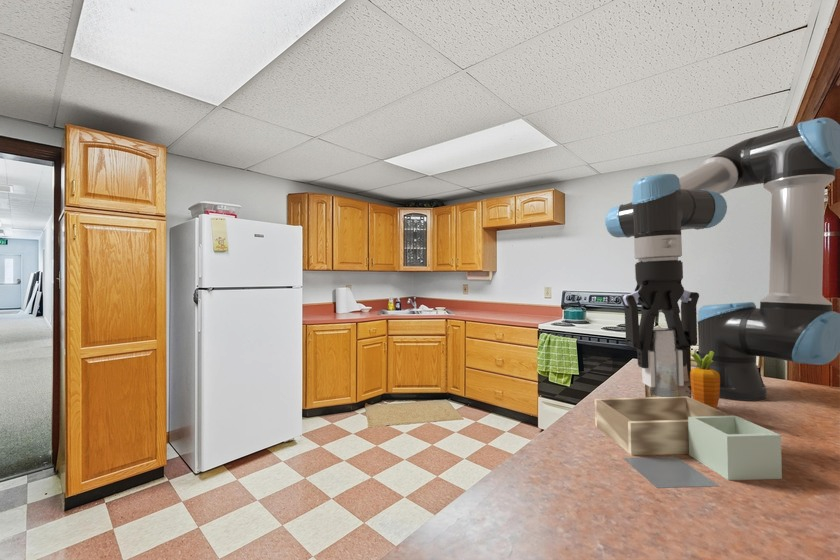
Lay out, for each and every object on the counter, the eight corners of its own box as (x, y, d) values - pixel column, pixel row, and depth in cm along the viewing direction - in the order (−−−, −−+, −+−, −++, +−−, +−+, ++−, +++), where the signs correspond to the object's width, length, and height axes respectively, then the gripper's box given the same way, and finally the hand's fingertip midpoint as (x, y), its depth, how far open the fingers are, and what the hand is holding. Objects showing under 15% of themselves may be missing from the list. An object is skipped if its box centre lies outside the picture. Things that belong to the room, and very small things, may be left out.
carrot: (689, 423, 78) (687, 351, 78) (693, 417, 82) (691, 347, 82) (719, 429, 75) (718, 354, 75) (722, 422, 79) (720, 350, 78)
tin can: (667, 388, 73) (664, 327, 73) (683, 396, 69) (681, 330, 69) (643, 390, 73) (641, 328, 73) (658, 397, 69) (656, 331, 68)
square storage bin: (736, 456, 64) (735, 415, 64) (781, 482, 56) (780, 435, 56) (689, 458, 64) (688, 416, 64) (728, 483, 56) (727, 436, 56)
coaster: (676, 460, 63) (676, 456, 63) (719, 490, 54) (719, 485, 54) (622, 461, 63) (622, 458, 63) (657, 491, 54) (657, 487, 54)
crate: (687, 425, 77) (687, 396, 77) (742, 455, 64) (741, 420, 64) (595, 428, 77) (594, 398, 77) (631, 458, 64) (630, 423, 64)
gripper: (622, 261, 67) (627, 392, 67) (720, 256, 67) (725, 388, 67) (601, 262, 74) (605, 380, 75) (690, 258, 75) (694, 376, 75)
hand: (662, 384), depth 71 cm, fingers closed on tin can, 4 cm apart
